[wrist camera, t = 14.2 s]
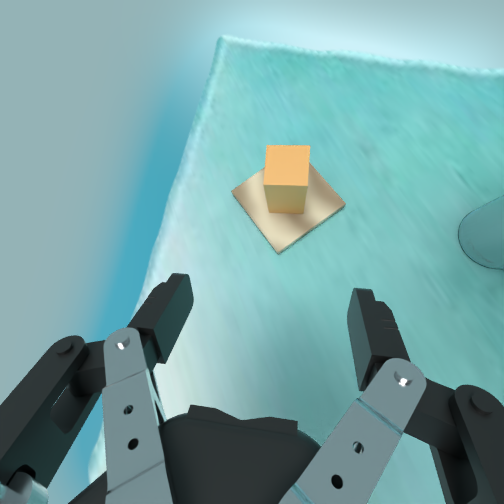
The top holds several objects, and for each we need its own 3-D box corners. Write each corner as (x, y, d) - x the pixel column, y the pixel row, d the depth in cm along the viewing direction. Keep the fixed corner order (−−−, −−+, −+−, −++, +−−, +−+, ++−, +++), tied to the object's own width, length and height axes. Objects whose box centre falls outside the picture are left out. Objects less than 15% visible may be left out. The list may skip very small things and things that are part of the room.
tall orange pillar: (305, 182, 43) (310, 145, 33) (303, 214, 42) (307, 185, 32) (271, 181, 44) (266, 145, 34) (268, 212, 43) (263, 184, 33)
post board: (294, 150, 46) (295, 121, 39) (343, 207, 43) (355, 186, 36) (233, 194, 46) (222, 173, 39) (278, 254, 43) (276, 243, 35)
